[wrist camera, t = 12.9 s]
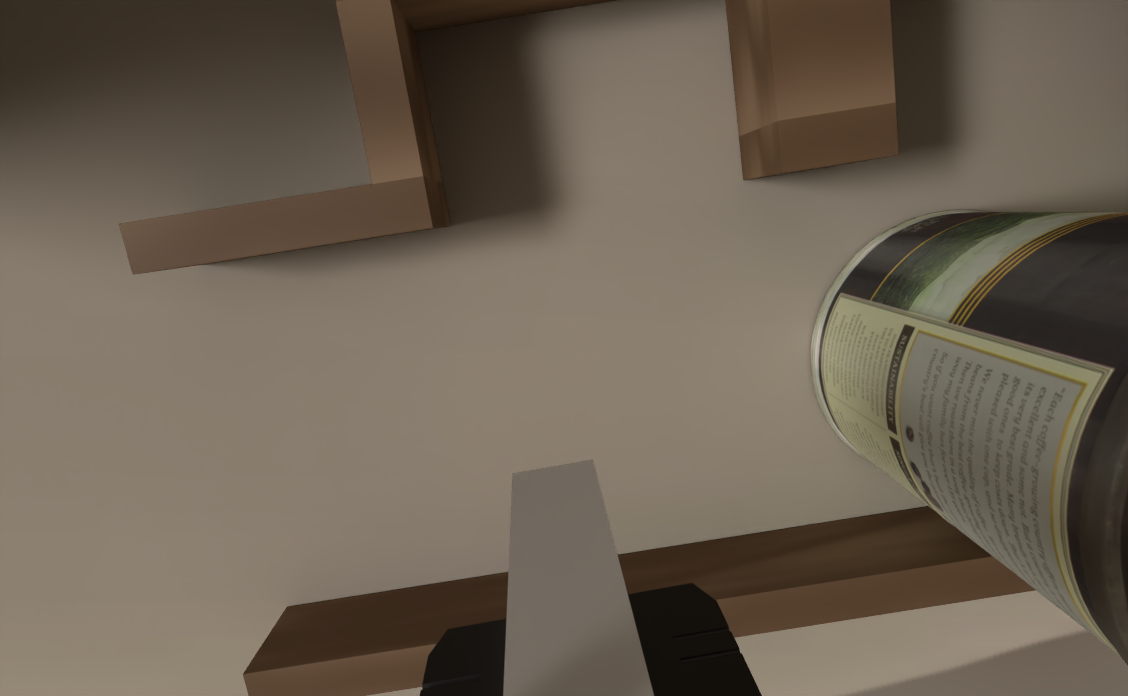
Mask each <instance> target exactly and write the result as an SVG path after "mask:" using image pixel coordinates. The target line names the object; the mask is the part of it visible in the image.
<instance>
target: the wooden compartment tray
mask: <svg viewBox="0 0 1128 696" xmlns="http://www.w3.org/2000/svg"><path fill="white" fill-rule="evenodd" d="M608 1H614V0H335V2H336V6H337V11H338V16H339V21H340V26H341V31H342V36H343V41H344V46H345V51H346V56H347V61H348V66H349V71H350V76H351V81H352V86H353V91H354V95H355V100H356V105H357V110H358V115H359V120H360V125H361V130H362V135H363V140H364V145H365V150H366V155H367V160H368V165H369V170H370V175H371V180H372V184H370V185H363V186H357V187H351V188H344V189H338V190H331V191H325V192H319V193H312V194H306V195H299V196H293V197H287V198H280V199H274V200H267V201H261V202H255V203H248V204H242V205H235V206H229V207H223V208H216V209H210V210H203V211H197V212H191V213H184V214H178V215H171V216H165V217H158V218H152V219H146V220H139V221H133V222H126V223H120V224H119V226H120V230H121V234H122V237H123V241H124V244H125V248H126V252H127V255H128V259H129V263H130V266H131V270H132V273H133V274H140V273H147V272H154V271H161V270H168V269H175V268H182V267H189V266H196V265H203V264H209V263H216V262H222V261H229V260H235V259H241V258H248V257H254V256H261V255H267V254H273V253H280V252H286V251H293V250H299V249H305V248H312V247H318V246H325V245H331V244H337V243H344V242H350V241H357V240H363V239H369V238H376V237H382V236H389V235H395V234H401V233H408V232H414V231H421V230H427V229H433V228H440V227H446V226H451V225H450V220H449V214H448V209H447V203H446V198H445V192H444V187H443V182H442V176H441V171H440V165H439V160H438V154H437V149H436V143H435V138H434V132H433V127H432V121H431V116H430V110H429V105H428V99H427V94H426V88H425V83H424V78H423V72H422V67H421V61H420V56H419V50H418V45H417V39H416V34H415V31H422V30H428V29H435V28H441V27H448V26H454V25H460V24H467V23H473V22H480V21H486V20H493V19H499V18H505V17H512V16H518V15H525V14H531V13H537V12H544V11H550V10H557V9H563V8H570V7H576V6H582V5H589V4H595V3H602V2H608ZM725 1H726V11H727V21H728V31H729V41H730V51H731V61H732V71H733V81H734V91H735V101H736V111H737V121H738V131H739V141H740V152H741V162H742V172H743V180H747V179H753V178H760V177H766V176H773V175H779V174H785V173H792V172H798V171H805V170H811V169H817V168H824V167H830V166H837V165H843V164H849V163H854V162H860V161H866V160H872V159H878V158H883V157H889V156H895V155H899V152H898V134H897V116H896V98H895V80H894V63H893V45H892V27H891V9H890V0H725ZM618 559H619V563H620V567H621V570H622V574H623V578H624V582H625V586H626V590H627V594H632V593H637V592H643V591H649V590H654V589H660V588H665V587H671V586H677V585H682V584H688V583H694V584H695V585H696V586H697V587H699V588H700V589H701V590H703V591H704V592H705V593H707V594H708V595H709V596H711V597H712V598H713V599H715V600H716V601H717V603H718V605H719V607H720V609H721V611H722V613H723V615H724V617H725V619H726V622H727V624H728V626H729V630H730V632H732V634H733V636H734V638H735V637H741V636H747V635H754V634H760V633H767V632H773V631H779V630H786V629H792V628H798V627H805V626H811V625H817V624H824V623H830V622H837V621H843V620H849V619H856V618H862V617H868V616H875V615H881V614H887V613H894V612H900V611H907V610H913V609H919V608H926V607H932V606H938V605H945V604H951V603H957V602H964V601H970V600H976V599H983V598H989V597H996V596H1002V595H1008V594H1015V593H1021V592H1027V591H1034V590H1035V589H1034V588H1033V587H1032V586H1030V585H1029V584H1028V583H1026V582H1025V581H1024V580H1023V579H1021V578H1020V577H1019V576H1018V575H1016V574H1015V573H1014V572H1012V571H1011V570H1010V569H1009V568H1007V567H1006V566H1005V565H1003V564H1002V563H1001V562H1000V561H998V560H997V559H996V558H994V557H993V556H992V555H991V554H989V553H988V552H987V551H985V550H984V549H983V548H981V547H980V546H979V545H978V544H976V543H975V542H974V541H972V540H971V539H970V538H969V537H967V536H966V535H965V534H963V533H962V532H961V531H960V530H958V529H957V528H956V527H954V526H953V525H952V524H950V523H949V522H947V521H946V520H945V519H944V518H943V517H941V516H940V515H939V514H938V513H937V512H935V511H934V510H933V509H932V508H930V507H929V506H927V507H921V508H915V509H908V510H902V511H895V512H889V513H883V514H876V515H870V516H864V517H857V518H851V519H844V520H838V521H832V522H825V523H819V524H813V525H806V526H800V527H794V528H787V529H781V530H774V531H768V532H762V533H755V534H749V535H743V536H736V537H730V538H723V539H717V540H711V541H704V542H698V543H692V544H685V545H679V546H673V547H666V548H660V549H653V550H647V551H641V552H634V553H628V554H622V555H618ZM507 595H508V572H507V573H501V574H494V575H488V576H481V577H475V578H469V579H462V580H456V581H450V582H443V583H437V584H430V585H424V586H418V587H411V588H405V589H399V590H392V591H386V592H380V593H373V594H367V595H360V596H354V597H348V598H341V599H335V600H329V601H322V602H316V603H309V604H303V605H297V606H290V607H287V608H286V609H285V611H284V612H283V614H282V615H281V617H280V618H279V620H278V621H277V623H276V624H275V626H274V627H273V629H272V631H271V632H270V634H269V635H268V637H267V638H266V640H265V641H264V643H263V644H262V646H261V647H260V649H259V650H258V652H257V653H256V655H255V657H254V658H253V660H252V661H251V663H250V664H249V666H248V667H247V669H246V670H245V672H244V673H243V676H244V680H245V684H246V687H247V691H248V695H249V696H366V695H372V694H379V693H385V692H391V691H398V690H404V689H410V688H417V687H422V683H423V678H424V673H425V669H426V664H427V659H428V655H429V654H430V653H431V651H432V650H433V648H434V647H435V646H436V644H437V643H438V642H439V640H440V639H441V638H442V636H443V635H444V633H445V632H446V631H447V629H451V628H456V627H462V626H467V625H473V624H479V623H484V622H490V621H495V620H501V619H507Z"/></svg>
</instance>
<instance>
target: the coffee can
mask: <svg viewBox="0 0 1128 696" xmlns="http://www.w3.org/2000/svg"><path fill="white" fill-rule="evenodd" d="M811 372H812V379H813V385H814V390H815V395H816V398H817V401H818V403H819V405H820V407H821V409H822V411H823V413H824V415H825V417H826V419H827V421H828V423H829V424H830V426H831V427H832V428H833V430H834V431H835V432H836V434H837V435H838V436H839V437H840V439H841V440H842V441H843V442H844V443H845V444H846V445H847V446H848V447H850V448H851V449H852V450H853V451H854V452H856V453H857V454H858V455H859V456H861V457H862V458H864V459H866V460H867V461H869V462H871V463H872V464H874V465H876V466H877V467H879V468H880V469H881V470H882V471H884V472H885V473H886V474H888V475H889V476H890V477H892V478H893V479H894V480H895V481H897V482H898V483H899V484H901V485H902V486H903V487H904V488H906V489H907V490H908V491H909V492H911V493H912V494H913V495H915V496H916V497H917V498H918V499H920V500H921V501H922V502H924V503H925V504H926V505H928V506H929V507H930V508H932V509H933V510H934V511H935V512H937V513H938V514H939V515H940V516H941V517H943V518H944V519H945V520H946V521H947V522H949V523H950V524H952V525H953V526H954V527H956V528H957V529H958V530H960V531H961V532H962V533H963V534H965V535H966V536H967V537H969V538H970V539H971V540H972V541H974V542H975V543H976V544H978V545H979V546H980V547H981V548H983V549H984V550H985V551H987V552H988V553H989V554H991V555H992V556H993V557H994V558H996V559H997V560H998V561H1000V562H1001V563H1002V564H1003V565H1005V566H1006V567H1007V568H1009V569H1010V570H1011V571H1012V572H1014V573H1015V574H1016V575H1018V576H1019V577H1020V578H1021V579H1023V580H1024V581H1025V582H1026V583H1028V584H1029V585H1030V586H1032V587H1033V588H1034V589H1035V590H1037V591H1038V592H1039V593H1040V594H1042V595H1043V596H1044V597H1045V598H1047V599H1048V600H1049V601H1051V602H1052V603H1053V604H1054V605H1056V606H1057V607H1058V608H1060V609H1061V610H1062V611H1063V612H1065V613H1066V614H1067V615H1069V616H1070V617H1071V618H1072V619H1074V620H1075V621H1076V622H1077V623H1079V624H1080V625H1081V626H1083V627H1084V628H1085V629H1086V630H1088V631H1089V632H1090V633H1092V634H1093V635H1094V636H1095V637H1097V638H1098V639H1099V640H1101V641H1102V642H1103V643H1104V644H1106V645H1107V646H1108V647H1110V648H1111V649H1112V650H1114V651H1115V652H1116V653H1117V654H1119V655H1120V656H1121V657H1122V659H1123V660H1124V661H1125V662H1126V663H1127V665H1128V212H1069V213H1045V212H984V211H975V210H948V211H942V212H935V213H930V214H926V215H923V216H919V217H915V218H912V219H910V220H907V221H905V222H903V223H901V224H899V225H897V226H895V227H893V228H891V229H889V230H887V231H886V232H884V233H882V234H881V235H879V236H878V237H876V238H875V239H874V240H872V241H871V242H870V243H868V244H867V245H866V246H865V247H864V248H863V249H861V250H860V251H859V252H858V253H857V254H856V255H855V256H854V257H853V258H852V259H851V260H850V261H849V263H848V264H847V265H846V266H845V267H844V268H843V269H842V271H841V272H840V274H839V275H838V276H837V278H836V279H835V281H834V282H833V284H832V285H831V287H830V289H829V290H828V292H827V294H826V296H825V298H824V300H823V302H822V304H821V307H820V310H819V313H818V316H817V320H816V323H815V326H814V331H813V337H812V343H811Z"/></svg>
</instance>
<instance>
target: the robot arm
mask: <svg viewBox="0 0 1128 696" xmlns="http://www.w3.org/2000/svg"><path fill="white" fill-rule="evenodd" d="M422 687H423V690H421V692H420V696H762V695H761V693H760V691H759V689H758V687H757V685H756V683H755V680H754V678H753V676H752V674H751V672H750V670H749V668H748V666H747V664H746V662H745V659H744V657H743V655H742V653H741V654H740V651H739V647H738V645H737V643H736V641H735V638H734V636H733V634H732V632H730V630H729V626H728V624H727V622H726V619H725V617H724V615H723V613H722V611H721V609H720V607H719V605H718V603H717V601H716V600H715V599H713V598H712V597H711V596H709V595H708V594H707V593H705V592H704V591H703V590H701V589H700V588H699V587H697V586H696V585H695V584H694V583H688V584H682V585H677V586H671V587H665V588H660V589H654V590H649V591H643V592H637V593H632V594H627V590H626V586H625V582H624V578H623V574H622V570H621V567H620V563H619V559H618V555H617V551H616V547H615V544H614V540H613V536H612V532H611V528H610V524H609V520H608V517H607V513H606V509H605V505H604V501H603V497H602V493H601V490H600V486H599V482H598V478H597V474H596V470H595V467H594V463H593V460H588V461H582V462H576V463H570V464H565V465H559V466H553V467H547V468H542V469H536V470H530V471H524V472H519V473H513V478H512V501H511V525H510V548H509V572H508V595H507V619H501V620H495V621H490V622H484V623H479V624H473V625H467V626H462V627H456V628H451V629H447V631H446V632H445V633H444V635H443V636H442V638H441V639H440V640H439V642H438V643H437V644H436V646H435V647H434V648H433V650H432V651H431V653H430V654H429V655H428V659H427V664H426V669H425V673H424V678H423V683H422Z"/></svg>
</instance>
